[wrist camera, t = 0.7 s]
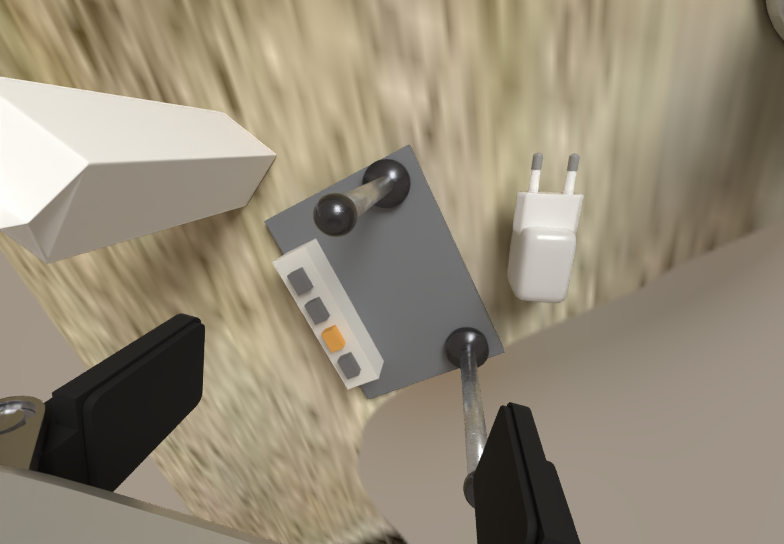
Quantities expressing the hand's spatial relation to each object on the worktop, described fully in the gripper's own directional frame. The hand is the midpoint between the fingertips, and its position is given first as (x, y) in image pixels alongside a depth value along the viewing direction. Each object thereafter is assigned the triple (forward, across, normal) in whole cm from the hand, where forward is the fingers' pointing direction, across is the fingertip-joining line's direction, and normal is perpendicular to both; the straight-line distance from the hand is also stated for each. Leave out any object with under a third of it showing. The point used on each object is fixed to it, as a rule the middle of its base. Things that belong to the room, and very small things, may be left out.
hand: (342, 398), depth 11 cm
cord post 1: (+23, +3, -4) cm, 24 cm away
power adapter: (+24, -10, -3) cm, 27 cm away
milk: (+24, +17, -2) cm, 30 cm away
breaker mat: (+24, +1, +6) cm, 25 cm away
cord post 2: (+23, -8, +10) cm, 26 cm away
